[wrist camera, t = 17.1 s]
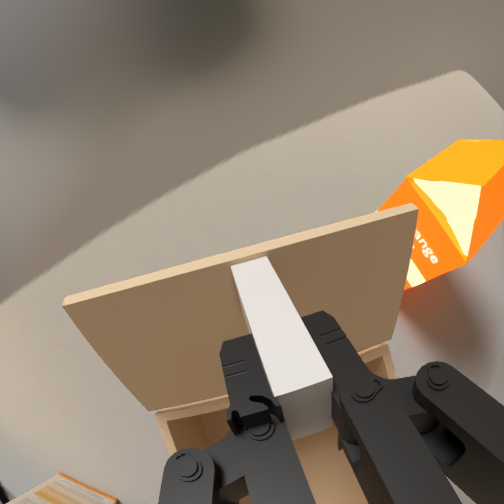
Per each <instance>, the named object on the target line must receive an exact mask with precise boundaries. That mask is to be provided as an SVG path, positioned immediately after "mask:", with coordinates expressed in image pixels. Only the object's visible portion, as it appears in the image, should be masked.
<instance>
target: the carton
mask: <svg viewBox="0 0 504 504" xmlns="http://www.w3.org/2000/svg"><path fill="white" fill-rule="evenodd" d="M358 354H359V356H360V357H361V359H362V360H363V362H364V363H365V365H366V366H367V368H368V369H369V370H370V371H371V372H372V373H374V374H375V375H378V376H380V377H381V378H386V379H397V377H396V373H395V370H394V366H393V362H392V359H391V355H390V351H389V348H388V345H376V346H373V347H371V348H368V349H366V350H363V351H361V352H358ZM229 406H230V402H229V398H228V395H224V396H220V397H216V398H211V399H207V400H203V401H198V402H194V403H189V404H184V405H180V406H175V407H169V408H164V409H161V410H160V411H159V412H157V413H156V414H155V415H156V418H157V421H158V424H159V427H160V430H161V433H162V436H163V439H164V442H165V445H166V447H167V450H168V453H169V455H170V457H171V456H172V455H173V454H174V453H175V452H177V451H179V450H181V449H185V448H197V449H201V450H203V449H205V448H207V447H209V446H210V445H212V444H214V443H216V442H218V441H219V440H220V439H222V438H223V437H224V436H225V435H226V434H227V433H228V431H229V429H230V427H229V425H228V423H227V421H226V412H227V410H228V408H229ZM292 442H293V444H294V447H295V450H296V452H297V455H298V458H299V460H300V463H301V466H302V468H303V471H304V473H305V476H306V479H307V481H308V484H309V486H310V489H311V492H312V494H313V497H314V499H315V502H316V504H368V502H367V499H366V497H365V495H364V493H363V491H362V489H361V487H360V485H359V482H358V480H357V478H356V476H355V474H354V472H353V470H352V468H351V465H350V463H349V461H348V459H347V457H346V455H345V453H344V450H343V448H342V450H340V451H339V450H338V445H337V444H338V430H337V428H336V425H335V423H334V421H333V427H330V428H327V429H325V430H322V431H319V432H316V433H314V434H311V435H308V436H305V437H302V438H299V439H296V440H293V441H292ZM239 504H252V503H251V499H250V495H247V496H245V497H244V498H242V499H240V500H239Z"/></svg>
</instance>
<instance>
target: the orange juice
mask: <svg viewBox="0 0 504 504" xmlns="http://www.w3.org/2000/svg"><path fill="white" fill-rule="evenodd" d="M405 178H407V179H406V180H405V181H404V182H403V183H402V184H401V185H400V186H399V187H398V189H397V190H396V191H395V192H394V193H393V194H392V195H391V196H390V197H389V199H388V200H387V201H386V202H385V203H384V204H383V205H382V206H381V207H380V208H379V210H377V211H376V212H379V211H383V210H386V209H390V208H394V207H398V206H402V205H405V204H409V203H412V204H414V205H415V206H416V207H417V208H419V212H418V219H417V225H416V232H415V238H414V243H413V249H412V254H411V259H410V264H409V269H408V274H407V279H406V283H405V288H404V290H405V289H408V288H410V287H414V286H417V285H419V284H422V283H424V282H426V281H427V280H430V279H432V278H435V277H437V276H439V275H442V274H444V273H446V272H449V271H451V270H453V269H455V268H458V267H460V266H462V265H464V264H465V265H466V263H467V262H468V261H469V260H470V259H471V258H472V257H473V256H474V254H475V253H476V252H477V251H478V250H479V249H480V247H481V246H482V245H483V244H484V243H485V241H486V240H487V239H488V238H489V237H490V235H491V234H492V233H493V232H494V230H495V229H496V228H497V227H498V225H499V224H500V223H501V222H502V220H503V219H504V140H471V139H459V140H458V141H456V142H455V143H453V144H452V145H451V146H449V147H448V148H446V149H445V150H444V151H442V152H441V153H439V154H438V155H436V156H435V157H434V158H432V159H431V160H429V161H428V162H426V163H425V164H424V165H422V166H421V167H419V168H418V169H416V170H415V171H414V172H412V173H411V174H409V175H408V176H406V177H405Z"/></svg>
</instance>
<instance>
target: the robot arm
mask: <svg viewBox="0 0 504 504" xmlns="http://www.w3.org/2000/svg"><path fill="white" fill-rule="evenodd" d="M231 270H232V274H233V278H234V281H235V285H236V289H237V292H238V296H239V300H240V303H241V307H242V311H243V314H244V318H245V321H246V324H247V327H248V330H249V333H250V334H248V335H244V336H241V337H237V338H234V339H230V340H227V341H223V343H222V346H221V350H220V353H219V355H220V360H221V365H222V370H223V374H224V379H225V384H226V388H227V393H228V398H229V402H230V406H229V408H228V410H227V412H226V421H227V423H228V425H229V427H230V429H229V431H228V433H227V434H226V435H225V436H224V437H223V438H222V439H220V440H219V441H218V442H216V443H214V444H212V445H210V446H209V447H207V448H205V449H203V450H201V449H197V448H185V449H181V450H179V451H177V452H175V453H174V454H173V455H172V456H171V457H170V458H169V459H168V460H167V462H166V465H165V467H164V472H163V478H162V484H161V490H160V496H159V502H158V504H239V500H240V499H242V498H244V497H245V496H247V495H250V499H251V503H252V504H316V502H315V499H314V497H313V494H312V492H311V489H310V486H309V484H308V481H307V479H306V476H305V473H304V471H303V468H302V466H301V463H300V460H299V458H298V455H297V452H296V450H295V447H294V444H293V442H292V441H293V440H296V439H299V438H302V437H305V436H308V435H311V434H314V433H316V432H319V431H322V430H325V429H327V428H330V427H333V421H334V423H335V425H336V428H337V430H338V444H337V445H338V450H339V451H340V450H342V448H343V450H344V453H345V455H346V457H347V459H348V461H349V463H350V465H351V468H352V470H353V472H354V474H355V476H356V478H357V480H358V482H359V485H360V487H361V489H362V491H363V493H364V495H365V497H366V499H367V502H368V504H462V503H461V501H460V499H459V498H458V496H457V494H456V493H455V491H454V489H453V487H452V486H451V484H450V482H449V481H448V479H447V477H448V478H449V479H450V480H451V481H452V482H453V483H454V484H455V485H457V486H458V487H459V488H460V489H461V490H462V491H463V492H464V493H465V494H466V495H467V496H469V497H470V498H471V499H472V500H473V501H474V502H475V503H476V504H504V406H503V405H502V404H500V403H499V402H498V401H497V400H495V399H494V398H493V397H491V396H490V395H489V394H487V393H486V392H485V391H484V390H482V389H481V388H480V387H478V386H477V385H476V384H474V383H473V382H472V381H471V380H469V379H468V378H467V377H465V376H464V375H463V374H461V373H460V372H459V371H457V370H456V369H455V368H453V367H452V366H450V365H448V364H446V363H444V362H437V361H436V362H430V363H427V364H426V365H424V366H422V367H421V368H420V370H419V371H418V372H417V374H416V376H411V377H405V378H399V379H386V378H381V377H380V376H378V375H375V374H374V373H372V372H371V371H370V370H369V369H368V368H367V366H366V365H365V363H364V362H363V360H362V359H361V357H360V356H359V354H358V352H357V351H356V349H355V348H354V346H353V345H352V343H351V342H350V340H349V339H348V338H347V336H346V334H345V333H344V331H343V330H342V329H341V327H340V325H339V324H338V322H337V321H336V319H335V318H334V317H333V316H331V315H329V314H328V313H326V312H325V311H323V310H322V311H319V312H316V313H313V314H310V315H307V316H303V317H300V316H299V314H298V312H297V310H296V309H295V307H294V305H293V303H292V301H291V299H290V298H289V296H288V294H287V292H286V290H285V289H284V287H283V285H282V283H281V281H280V280H279V278H278V276H277V274H276V272H275V270H274V269H273V267H272V265H271V263H270V261H269V260H268V258H267V256H263V257H260V258H256V259H253V260H249V261H246V262H242V263H238V264H235V265H231ZM445 475H446V476H447V477H446V476H445Z"/></svg>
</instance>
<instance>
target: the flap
mask: <svg viewBox="0 0 504 504" xmlns="http://www.w3.org/2000/svg"><path fill="white" fill-rule="evenodd" d="M418 212H419V208H417V207H416V206H415V205H414V204H412V203H409V204H405V205H402V206H398V207H394V208H390V209H386V210H383V211H379V212H375V213H371V214H367V215H364V216H360V217H356V218H352V219H349V220H345V221H341V222H337V223H333V224H330V225H326V226H322V227H318V228H315V229H311V230H307V231H304V232H300V233H296V234H292V235H289V236H285V237H281V238H277V239H274V240H270V241H266V242H263V243H259V244H255V245H252V246H248V247H244V248H240V249H237V250H233V251H229V252H226V253H222V254H218V255H215V256H211V257H207V258H204V259H200V260H196V261H193V262H189V263H185V264H182V265H178V266H174V267H171V268H167V269H164V270H160V271H156V272H153V273H149V274H145V275H142V276H138V277H135V278H131V279H127V280H124V281H120V282H117V283H113V284H109V285H106V286H102V287H99V288H95V289H91V290H88V291H84V292H81V293H77V294H74V295H70V296H66V297H65V299H64V302H63V308H64V309H65V311H66V312H67V314H68V315H69V316H70V318H71V319H72V321H73V322H74V323H75V325H76V326H77V327H78V329H79V330H80V332H81V333H82V334H83V336H84V337H85V338H86V339H87V341H88V342H89V343H90V345H91V346H92V347H93V348H94V350H95V351H96V352H97V353H98V355H99V356H100V357H101V358H102V360H103V361H104V362H105V363H106V364H107V366H108V367H109V368H110V369H111V370H112V372H113V373H114V374H115V375H116V376H117V377H118V379H119V380H120V381H121V382H122V383H123V384H124V385H125V386H126V388H127V389H128V390H129V391H130V392H131V393H132V394H133V395H134V396H135V397H136V398H137V400H138V401H139V402H140V403H141V404H142V405H143V406H144V407H145V408H146V409H147V410H148V411H153V410H159V409H164V408H169V407H175V406H180V405H184V404H189V403H194V402H198V401H203V400H207V399H211V398H216V397H220V396H224V395H228V393H227V388H226V384H225V379H224V374H223V370H222V365H221V360H220V355H219V353H220V350H221V346H222V343H223V341H227V340H230V339H234V338H237V337H241V336H244V335H248V334H250V333H249V330H248V327H247V324H246V321H245V318H244V314H243V311H242V307H241V303H240V300H239V296H238V292H237V289H236V285H235V281H234V278H233V274H232V270H231V265H235V264H238V263H242V262H246V261H249V260H253V259H256V258H260V257H263V256H267V258H268V260H269V261H270V263H271V265H272V267H273V269H274V270H275V272H276V274H277V276H278V278H279V280H280V281H281V283H282V285H283V287H284V289H285V290H286V292H287V294H288V296H289V298H290V299H291V301H292V303H293V305H294V307H295V309H296V310H297V312H298V314H299V316H300V317H303V316H307V315H310V314H313V313H316V312H319V311H322V310H323V311H325V312H326V313H328V314H329V315H331V316H333V317H334V318H335V319H336V321H337V322H338V324H339V325H340V327H341V329H342V330H343V331H344V333H345V334H346V336H347V338H348V339H349V340H350V342H351V343H352V345H353V346H354V348H355V349H356V351H357V352H361V351H363V350H366V349H368V348H371V347H373V346H376V345H378V344H380V343H383V342H385V341H387V340H390V339H391V338H392V334H393V331H394V327H395V324H396V320H397V316H398V312H399V308H400V304H401V300H402V296H403V292H404V288H405V283H406V279H407V274H408V269H409V264H410V259H411V254H412V249H413V243H414V238H415V232H416V225H417V219H418Z"/></svg>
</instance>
